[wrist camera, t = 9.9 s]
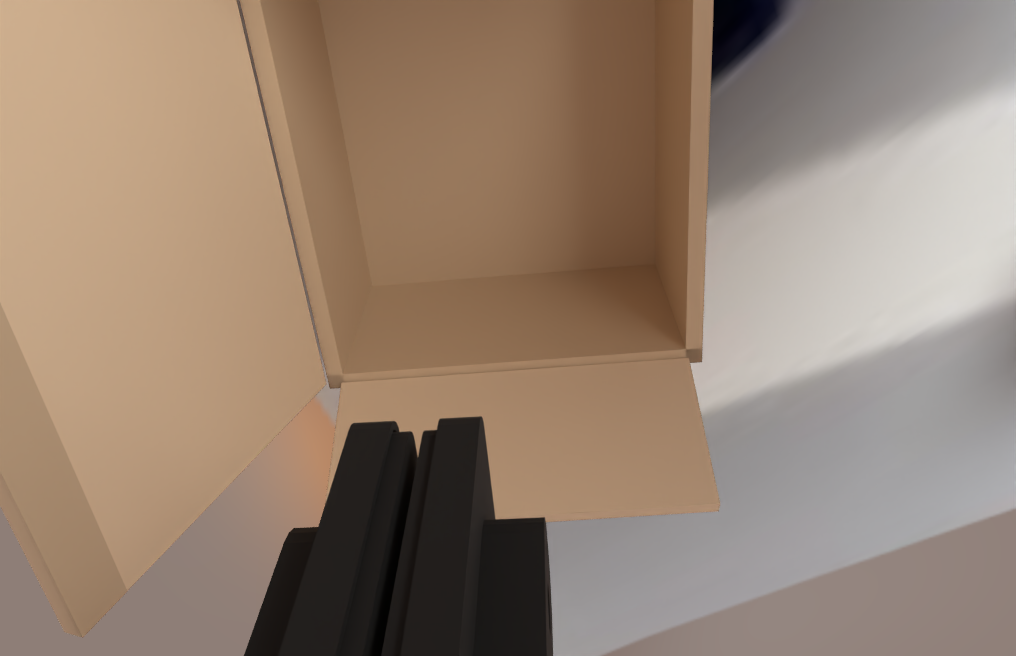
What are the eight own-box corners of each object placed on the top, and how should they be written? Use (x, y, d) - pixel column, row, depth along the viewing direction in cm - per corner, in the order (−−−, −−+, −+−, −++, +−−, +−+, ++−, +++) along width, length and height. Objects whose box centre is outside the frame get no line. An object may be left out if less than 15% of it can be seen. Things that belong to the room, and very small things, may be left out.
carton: (670, -276, 28) (791, -383, 16) (666, 313, 39) (734, 513, 27) (260, -232, 28) (76, -302, 16) (371, 334, 39) (310, 540, 27)
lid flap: (-298, -126, 13) (-321, -122, 13) (83, 637, 21) (64, 632, 21) (202, -145, 22) (184, -143, 23) (326, 384, 31) (312, 382, 31)
